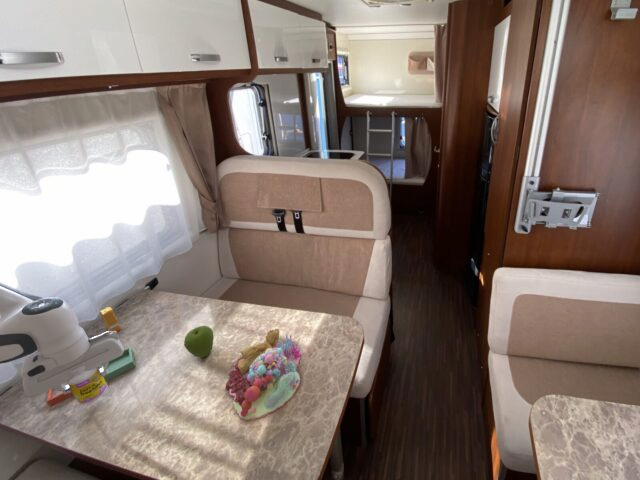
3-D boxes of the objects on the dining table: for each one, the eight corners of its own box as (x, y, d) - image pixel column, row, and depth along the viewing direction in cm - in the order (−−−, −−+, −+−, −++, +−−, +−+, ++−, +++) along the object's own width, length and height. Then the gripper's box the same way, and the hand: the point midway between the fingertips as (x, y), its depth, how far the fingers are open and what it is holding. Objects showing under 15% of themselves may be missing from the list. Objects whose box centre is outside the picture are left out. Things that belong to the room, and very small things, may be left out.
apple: (218, 340, 112) (210, 317, 108) (218, 358, 105) (209, 334, 100) (192, 350, 109) (182, 326, 104) (189, 369, 102) (179, 344, 97)
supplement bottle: (83, 410, 87) (64, 379, 82) (75, 398, 90) (57, 368, 86) (112, 390, 92) (95, 360, 87) (103, 379, 96) (87, 350, 91)
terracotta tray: (50, 407, 92) (46, 401, 91) (53, 381, 99) (50, 376, 98) (99, 382, 99) (95, 376, 98) (98, 360, 106) (95, 355, 105)
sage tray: (104, 382, 98) (101, 377, 97) (103, 366, 104) (100, 361, 103) (135, 366, 103) (132, 361, 102) (133, 351, 109) (130, 346, 108)
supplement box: (122, 328, 119) (112, 309, 115) (111, 334, 117) (101, 315, 113) (119, 325, 121) (109, 305, 117) (108, 331, 118) (98, 311, 114)
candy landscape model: (216, 375, 99) (209, 356, 95) (282, 332, 114) (278, 314, 110) (248, 435, 82) (240, 413, 79) (320, 375, 98) (316, 355, 94)
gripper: (114, 322, 93) (130, 354, 98) (15, 363, 80) (39, 398, 85) (115, 334, 88) (132, 367, 94) (11, 380, 76) (36, 415, 81)
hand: (87, 382), depth 89 cm, fingers closed on supplement bottle, 6 cm apart
